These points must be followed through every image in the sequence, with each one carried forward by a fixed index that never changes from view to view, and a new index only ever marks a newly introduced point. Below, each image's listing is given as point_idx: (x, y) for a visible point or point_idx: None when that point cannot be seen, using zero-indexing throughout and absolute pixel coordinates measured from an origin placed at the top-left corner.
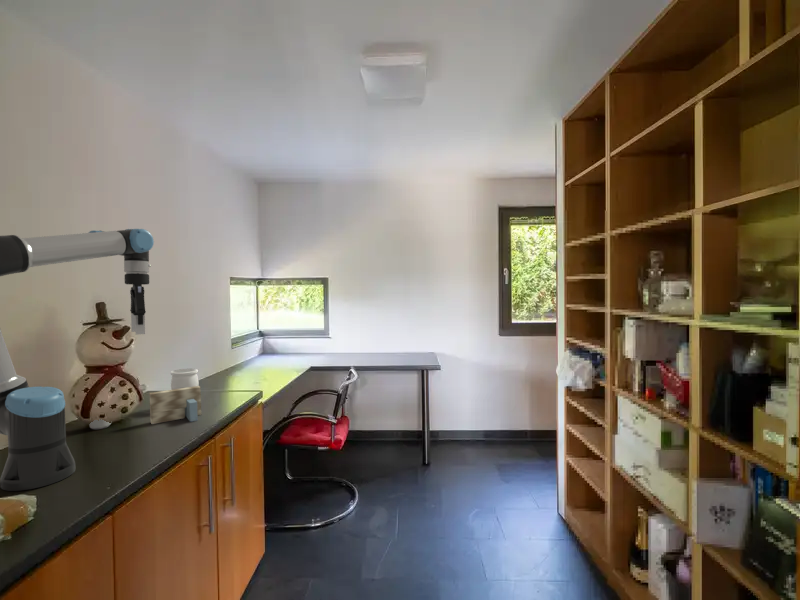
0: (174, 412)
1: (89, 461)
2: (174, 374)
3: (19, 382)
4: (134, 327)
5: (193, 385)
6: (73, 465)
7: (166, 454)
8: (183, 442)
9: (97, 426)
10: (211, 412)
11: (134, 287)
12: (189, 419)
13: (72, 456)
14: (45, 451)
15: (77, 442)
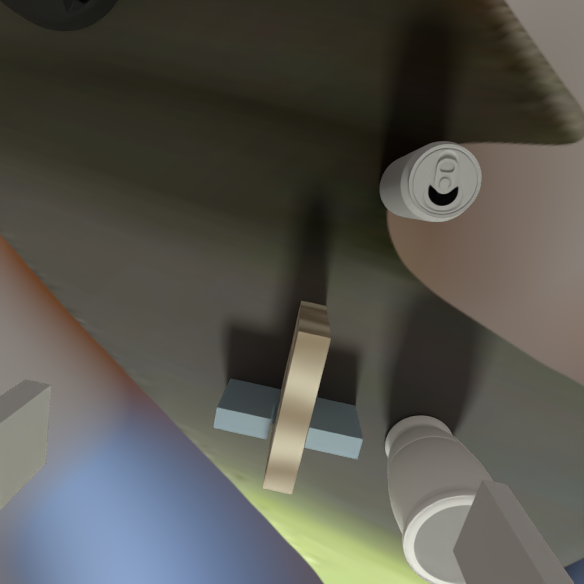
0: (286, 369)
1: (93, 74)
2: (446, 494)
3: None
4: (495, 549)
5: (391, 505)
6: (15, 11)
7: (5, 228)
8: (65, 291)
9: (385, 171)
10: None
11: None
12: (241, 382)
13: (29, 7)
14: None
15: (297, 92)
